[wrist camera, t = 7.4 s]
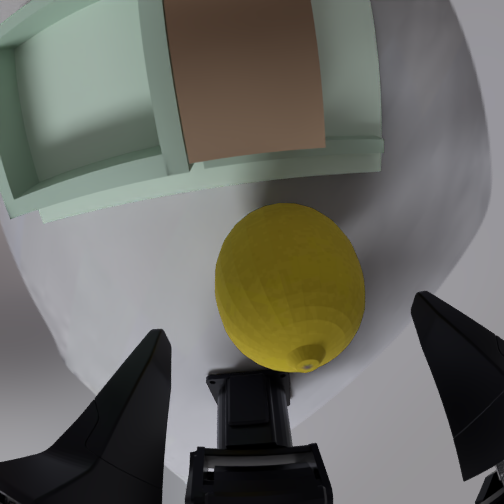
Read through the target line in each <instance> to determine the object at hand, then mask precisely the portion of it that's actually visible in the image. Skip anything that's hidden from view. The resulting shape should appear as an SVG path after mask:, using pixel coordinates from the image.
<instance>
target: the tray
mask: <svg viewBox="0 0 504 504" xmlns="http://www.w3.org/2000/svg"><path fill="white" fill-rule="evenodd" d="M311 5H312V11H313V17H314V24H315V31H316V39H317V46H318V55H319V64H320V73H321V84H322V95H323V109H324V124H325V144H326V148H314V149H300V150H288V151H278V152H268V153H259V154H251V155H243V156H235V157H228V158H222V159H215V160H209V161H203V162H197V163H191V164H189V159H188V154H187V149H186V144H185V138H184V133H183V127H182V122H181V116H180V110H179V105H178V99H177V93H176V87H175V80H174V74H173V67H172V61H171V54H170V47H169V40H168V32H167V24H166V16H165V8H164V0H32V1H30V2H29V3H28V4H26V5H25V6H23V7H22V8H21V9H19V10H18V11H16V12H15V13H14V14H13V15H11V16H10V17H9V18H7V19H6V20H5V21H4V22H2V23H1V24H0V192H1V195H2V198H3V201H4V203H5V206H6V209H7V211H8V214H9V216H10V219H12V218H15V217H18V216H21V215H24V214H26V213H29V212H32V211H35V210H38V211H39V213H40V216H41V218H42V221H43V223H44V224H45V223H48V222H52V221H56V220H59V219H63V218H67V217H71V216H75V215H79V214H83V213H87V212H91V211H95V210H100V209H104V208H109V207H113V206H118V205H122V204H127V203H132V202H137V201H142V200H147V199H152V198H157V197H162V196H168V195H173V194H179V193H185V192H191V191H197V190H203V189H210V188H216V187H223V186H230V185H237V184H245V183H253V182H261V181H269V180H278V179H288V178H298V177H309V176H320V175H333V174H348V173H365V172H381V153H384V139H382V121H381V90H380V74H379V62H378V52H377V43H376V35H375V28H374V21H373V15H372V9H371V3H370V0H311Z"/></svg>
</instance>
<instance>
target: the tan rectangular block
mask: <svg viewBox="0 0 504 504" xmlns="http://www.w3.org/2000/svg"><path fill="white" fill-rule="evenodd" d="M164 8H165V16H166V24H167V32H168V40H169V47H170V54H171V61H172V67H173V74H174V80H175V87H176V93H177V99H178V105H179V110H180V116H181V122H182V127H183V133H184V138H185V144H186V149H187V154H188V159H189V164H191V163H197V162H203V161H209V160H215V159H222V158H228V157H235V156H243V155H251V154H259V153H268V152H278V151H288V150H300V149H314V148H326V144H325V124H324V109H323V95H322V84H321V73H320V64H319V55H318V46H317V39H316V31H315V24H314V17H313V11H312V5H311V0H164Z"/></svg>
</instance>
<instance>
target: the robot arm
mask: <svg viewBox="0 0 504 504" xmlns="http://www.w3.org/2000/svg"><path fill="white" fill-rule="evenodd" d="M411 315H412V318H413V321H414V325H415V328H416V330H417V334H418V337H419V340H420V344H421V347H422V350H423V352H424V355H425V357H426V360H427V362H428V365H429V367H430V370H431V372H432V375H433V378H434V380H435V383H436V386H437V388H438V391H439V394H440V397H441V400H442V403H443V406H444V409H445V412H446V415H447V419H448V422H449V425H450V429H451V432H452V436H453V438H454V439H453V440H454V444H455V447H456V451H457V455H458V459H459V464H460V468H461V472H462V477H463V481H466V480H469V479H471V478H473V477H475V476H476V475H479V474H481V473H482V472H484V471H486V470H488V469H490V468H492V467H493V466H495V467H496V470H495V471H494V472H492V473H491V474H490V475H488V476H487V477H486V478H485V480H484V483H483V485H482V488H481V490H480V492H479V494H478V497H477V499H476V501H475V504H504V340H502V339H501V338H500V337H498V336H495V334H494V333H492V332H491V331H489V330H488V329H486V328H485V327H483V326H482V325H480V324H478V323H477V322H475V321H474V320H473V319H471V318H469V317H468V316H466V315H465V314H463V313H462V312H460V311H459V310H457V309H455V308H454V307H452V306H451V305H449V304H447V303H446V302H444V301H443V300H441V299H439V298H438V297H436V296H434V295H433V294H431V293H430V292H428V291H421V292H418V293H416V295H415V298H414V301H413V304H412V307H411ZM206 383H207V385H208V387H209V389H210V391H211V393H212V395H213V397H214V399H215V401H216V403H217V405H218V411H217V449H213V448H205V447H197V451H195V452H190V468H189V476H188V482H187V489H186V495H185V504H333V493H332V487H331V484H330V481H329V478H328V475H327V472H326V469H325V466H324V463H323V460H322V458H321V455H320V452H319V449H318V446H317V443H312V444H309V445H304V446H294V447H293V446H292V438H291V431H290V423H289V416H288V409H287V406H289V405H290V382H289V372H283V371H277V370H265V371H256V372H246V373H235V374H221V375H209V376H207V377H206ZM170 393H171V344H170V342H169V340H168V338H167V336H166V334H165V332H164V330H163V329H152V330H151V331H150V332H149V333H148V334H147V335H146V336H145V338H144V339H143V340H142V341H141V342H140V343H139V345H138V346H137V347H136V348H135V349H134V351H133V352H132V353H131V354H130V355H129V357H128V358H127V359H126V360H125V362H124V363H123V364H122V365H121V366H120V368H119V369H118V370H117V371H116V373H115V374H114V375H113V376H112V377H111V379H110V380H109V381H108V382H107V384H106V385H105V386H104V387H103V389H102V390H101V391H100V392H99V393H98V395H97V396H96V397H95V400H93V401H92V402H91V403H90V405H89V406H88V407H87V409H86V410H85V411H84V412H83V413H82V414H81V415H80V417H79V418H78V419H77V420H76V421H75V422H74V423H73V424H72V425H71V426H70V427H69V428H68V429H67V430H66V432H65V433H64V434H63V435H62V436H61V437H60V438H59V439H58V440H57V441H56V442H55V443H54V444H53V445H52V446H51V447H50V448H48V449H47V450H45V451H43V452H41V453H38V454H35V455H31V456H27V457H23V458H18V459H14V460H9V461H4V462H0V504H162V485H163V469H164V454H165V442H166V431H167V420H168V411H169V401H170ZM208 468H214V472H208Z"/></svg>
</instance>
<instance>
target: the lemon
mask: <svg viewBox="0 0 504 504" xmlns="http://www.w3.org/2000/svg"><path fill="white" fill-rule="evenodd" d="M215 296H216V302H217V306H218V310H219V313H220V316H221V319H222V322H223V325H224V328H225V330H226V332H227V334H228V336H229V337H230V339H231V340H232V342H233V343H234V344H235V345H236V347H237V348H238V349H239V350H240V351H241V352H242V353H243V354H244V355H246V356H247V357H248V358H250V359H251V360H253V361H254V362H256V363H257V364H259V365H262V366H264V367H267V368H270V369H272V370H277V371H283V372H302V373H307V372H311V371H313V370H315V369H317V368H318V367H320V366H322V365H324V364H326V363H328V362H329V361H331V360H332V359H334V358H335V357H337V356H338V355H339V354H340V353H341V352H342V351H343V350H344V349H345V348H346V347H347V346H348V345H349V343H350V342H351V341H352V339H353V338H354V336H355V334H356V333H357V331H358V329H359V326H360V323H361V320H362V317H363V314H364V310H365V285H364V277H363V273H362V269H361V266H360V263H359V260H358V258H357V256H356V253H355V251H354V248H353V246H352V244H351V242H350V241H349V239H348V238H347V236H346V235H345V234H344V233H343V232H342V231H341V230H340V228H339V227H338V226H337V225H336V224H335V223H334V222H333V221H332V220H331V219H330V218H328V217H326V216H325V215H323V214H322V213H320V212H318V211H317V210H315V209H313V208H310V207H307V206H303V205H299V204H295V203H277V204H272V205H267V206H263V207H261V208H259V209H257V210H255V211H253V212H251V213H249V214H248V215H247V216H245V217H244V218H243V219H242V220H241V221H239V222H238V223H237V224H236V225H235V226H234V228H233V229H232V230H231V232H230V233H229V235H228V236H227V237H226V239H225V240H224V243H223V245H222V248H221V251H220V254H219V257H218V260H217V263H216V269H215Z"/></svg>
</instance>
